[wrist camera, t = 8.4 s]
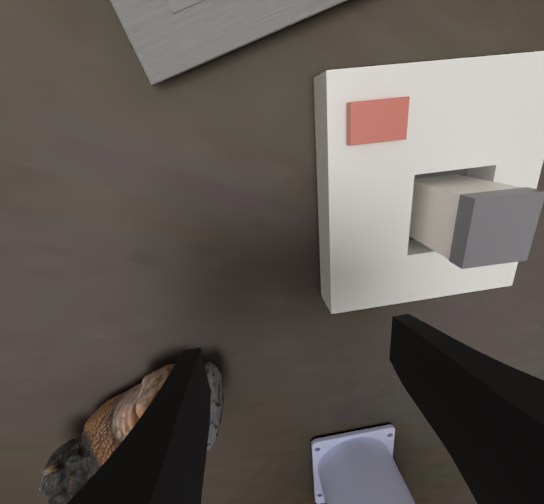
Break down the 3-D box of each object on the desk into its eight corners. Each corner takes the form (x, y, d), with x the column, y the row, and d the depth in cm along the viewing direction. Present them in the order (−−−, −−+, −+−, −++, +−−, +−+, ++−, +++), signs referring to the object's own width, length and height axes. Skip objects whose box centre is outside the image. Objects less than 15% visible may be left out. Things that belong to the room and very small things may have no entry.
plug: (449, 225, 21) (526, 260, 16) (400, 231, 21) (462, 269, 15) (457, 173, 20) (546, 191, 14) (405, 178, 19) (475, 198, 14)
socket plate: (485, 270, 23) (519, 289, 20) (321, 295, 22) (334, 319, 19) (528, 58, 18) (584, 45, 15) (313, 77, 17) (330, 68, 14)
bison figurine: (233, 348, 23) (91, 319, 20) (240, 434, 17) (35, 411, 14) (188, 450, 27) (62, 438, 24) (179, 551, 21) (8, 553, 18)
